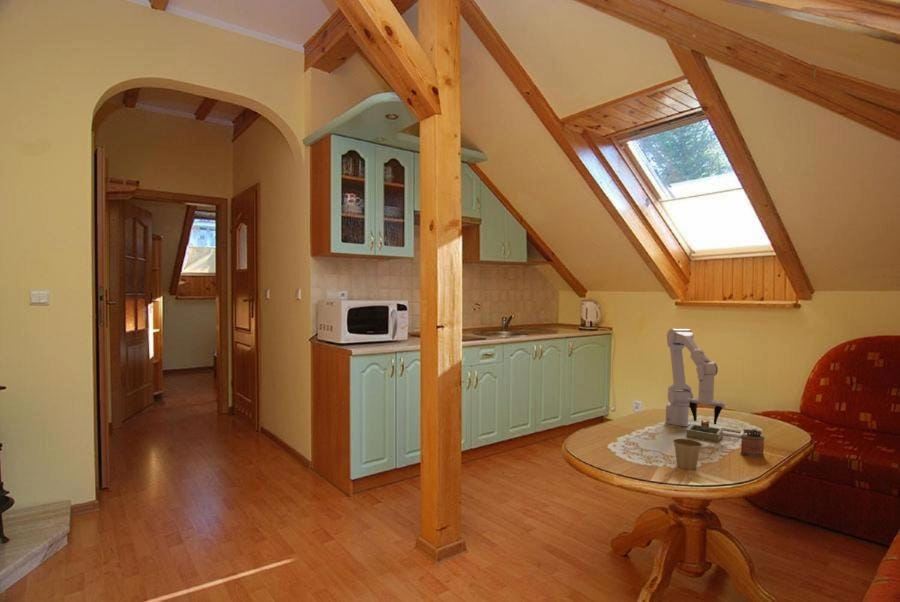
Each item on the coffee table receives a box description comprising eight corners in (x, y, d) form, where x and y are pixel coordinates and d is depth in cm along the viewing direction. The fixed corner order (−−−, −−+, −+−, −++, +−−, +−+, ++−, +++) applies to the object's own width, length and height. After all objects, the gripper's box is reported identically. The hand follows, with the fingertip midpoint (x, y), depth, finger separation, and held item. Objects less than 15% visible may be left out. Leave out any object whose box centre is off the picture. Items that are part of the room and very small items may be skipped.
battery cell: (699, 435, 217) (700, 420, 217) (701, 433, 219) (702, 419, 219) (707, 436, 215) (708, 422, 215) (709, 435, 217) (710, 421, 217)
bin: (686, 436, 216) (686, 429, 216) (692, 430, 225) (692, 424, 225) (718, 442, 209) (718, 434, 209) (722, 435, 218) (722, 428, 218)
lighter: (761, 454, 193) (762, 428, 193) (765, 457, 190) (766, 431, 190) (738, 453, 194) (739, 427, 194) (742, 456, 191) (743, 429, 191)
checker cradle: (715, 433, 222) (715, 431, 222) (719, 428, 230) (719, 426, 230) (741, 437, 216) (741, 435, 216) (744, 432, 224) (744, 430, 224)
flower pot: (694, 462, 182) (695, 438, 182) (706, 472, 173) (707, 446, 173) (667, 461, 183) (668, 437, 182) (678, 471, 173) (679, 445, 173)
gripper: (685, 389, 218) (684, 421, 218) (724, 394, 209) (722, 427, 209) (689, 387, 223) (688, 417, 224) (726, 391, 215) (725, 423, 215)
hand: (705, 422), depth 217 cm, fingers open, 7 cm apart
